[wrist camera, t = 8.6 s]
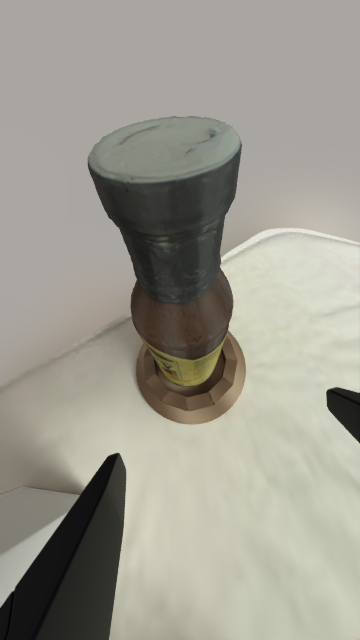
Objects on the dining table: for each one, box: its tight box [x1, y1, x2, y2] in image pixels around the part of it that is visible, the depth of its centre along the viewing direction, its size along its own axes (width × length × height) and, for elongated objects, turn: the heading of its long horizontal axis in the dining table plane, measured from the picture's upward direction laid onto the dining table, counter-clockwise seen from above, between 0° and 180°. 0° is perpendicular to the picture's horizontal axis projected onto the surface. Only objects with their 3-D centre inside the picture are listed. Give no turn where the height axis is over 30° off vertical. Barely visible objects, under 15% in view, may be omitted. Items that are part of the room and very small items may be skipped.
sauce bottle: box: [88, 116, 242, 387], centre depth 13 cm, size 6×6×20 cm
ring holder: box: [136, 331, 246, 424], centre depth 22 cm, size 13×13×2 cm
